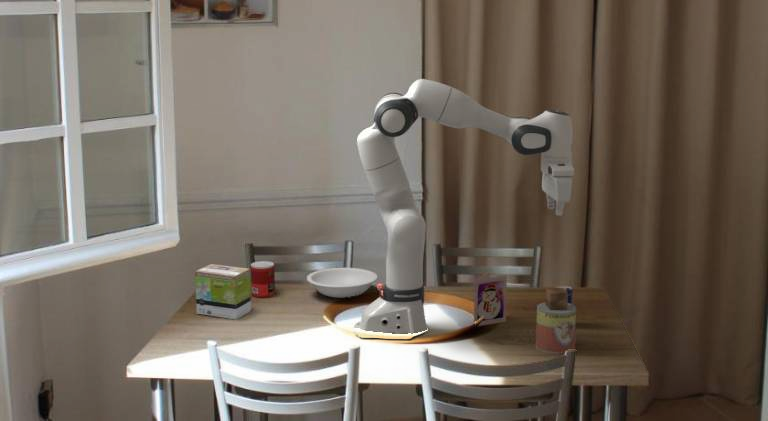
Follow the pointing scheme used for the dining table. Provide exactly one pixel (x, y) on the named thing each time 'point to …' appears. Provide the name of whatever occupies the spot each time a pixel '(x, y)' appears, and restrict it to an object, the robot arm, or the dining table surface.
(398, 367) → the dining table surface
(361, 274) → the soup bowl
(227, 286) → the tea box
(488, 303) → the greeting card
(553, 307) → the walnut block
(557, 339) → the canned food
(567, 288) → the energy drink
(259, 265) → the canned food
